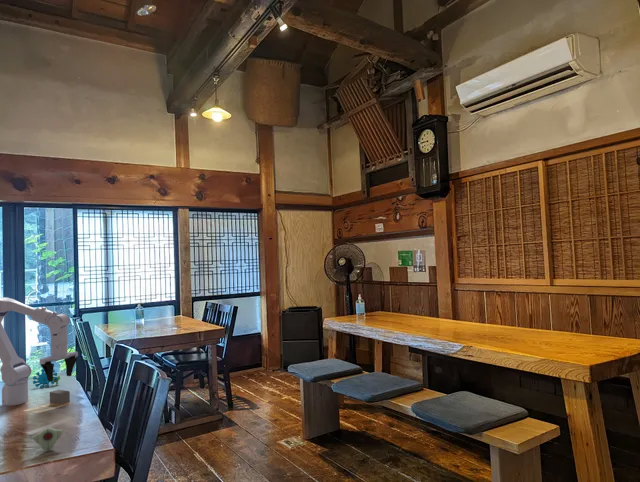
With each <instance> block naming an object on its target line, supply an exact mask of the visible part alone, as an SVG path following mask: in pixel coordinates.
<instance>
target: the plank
mask: <svg viewBox="0 0 640 482" xmlns="http://www.w3.org/2000/svg"><path fill="white" fill-rule="evenodd" d="M71 404H72V402H70V403H67V404H64V405H55V404H50V402H47V403H44V404H40V405H38V406H34V407H31V408H27V409H23V412H28V413H32V414H37V415H39V414H42V413H45V412H49V411H52V410H54V409H58V408H61V407H64V406H68V405H71Z"/></svg>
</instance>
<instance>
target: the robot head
mask: <svg viewBox="0 0 640 482" xmlns="http://www.w3.org/2000/svg"><path fill="white" fill-rule="evenodd" d="M63 432H64V429H57V428H53V427H45V428H43V429H42V430H41V431H40V432H37V433H36V434H34V435H32V436H31V438H32V440H33V441H34V443H36V444H37V445H39V446H40V448H41V449H42V450H43V451H50V450H52V449H54V447H55V445H56V443H57V441H58V440H59V439H60V437H61V436H62V434H63Z"/></svg>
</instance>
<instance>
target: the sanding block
mask: <svg viewBox="0 0 640 482" xmlns="http://www.w3.org/2000/svg"><path fill="white" fill-rule="evenodd" d="M70 392H71V391H69V390H64V389H63V390H62V389H55V390H52V391H50V392H49V403H50V404H55V405H64V404H67V403H71V397H70Z"/></svg>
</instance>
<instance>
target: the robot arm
mask: <svg viewBox="0 0 640 482" xmlns="http://www.w3.org/2000/svg"><path fill="white" fill-rule="evenodd" d="M11 311H12V312H16V313H19V314H22V315H26V316H29V317H31V320H32V321H33V322H36V323H38V324H42V325H45V326H47V327H48V329H49V331H50V356H46V357H42V358H39V364H40V367H41V368H42V369H44V371H45V372H44V373H46V375H47V379H48V381H53V377H54V375H53V374H54V373H53V369H54V368H55V364H54V363H53V362H57V361H61V360H62V361H63V360H64V363H65V370H66V373H65V374H66V377H71V376H72V374H73V371H74V368H75V365H76V363H77V362H78V357H79V352H78V351H70V352H68V325H69V324H70V317H69V316H68V314H65V312H63V313H61V312H60V313H58V311H53V310H49V309H47V307H45V306H41V307H40V306H39V307H36V308H35V307H32V306H30V305H28V304H24V303H22V302H20V301H18V300H16V299H14V298H10V297H9V296H8V297H7V296H3V297H0V361H1V364H2V365H1V366H0V373H1V380H2V382H3V383H4V385H3V387H2V389H1V404H0V408H1V407H5V406H17V405H22V404H25V403H27V402H29V388H28V387H29V378H30V376H31V374H32V368H31V366H30V365H29V364H28V363H26V361H25V359H24V358H22V357H20V356H18V354H17V352H16V350H15V348H14V346H13V344H12V341H11V340H10V338H9V336H8V334H7V332H6V329H5V327H4V326H3V324H2V322H3V319H4V318H5V317H6V316H7V314H9V312H11Z"/></svg>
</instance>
